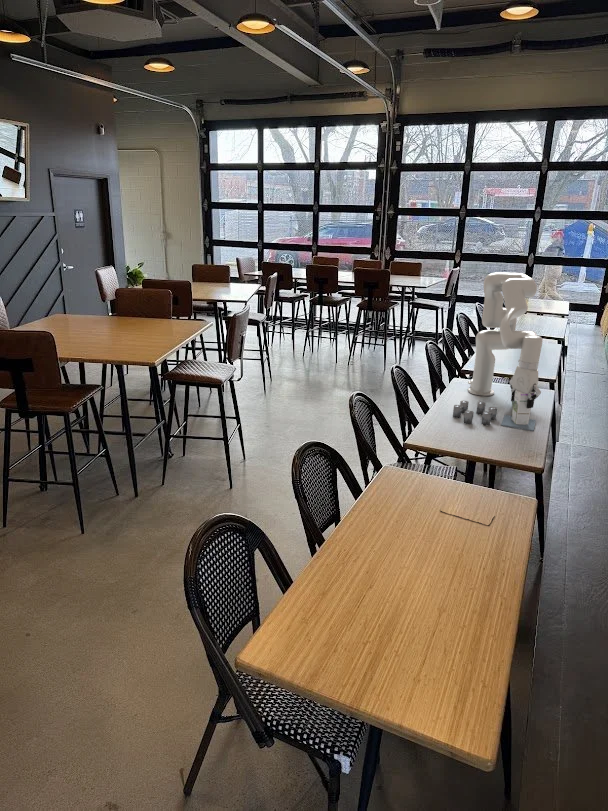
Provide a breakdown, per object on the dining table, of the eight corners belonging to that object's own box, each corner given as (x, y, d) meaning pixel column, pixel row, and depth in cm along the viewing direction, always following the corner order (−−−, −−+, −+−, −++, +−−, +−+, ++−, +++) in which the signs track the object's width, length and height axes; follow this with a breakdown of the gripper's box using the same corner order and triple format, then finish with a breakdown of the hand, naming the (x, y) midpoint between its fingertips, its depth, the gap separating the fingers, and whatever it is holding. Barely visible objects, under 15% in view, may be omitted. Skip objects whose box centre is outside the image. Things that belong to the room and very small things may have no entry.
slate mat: (501, 425, 231) (501, 424, 231) (504, 416, 242) (504, 414, 242) (533, 431, 226) (533, 430, 226) (535, 421, 237) (535, 419, 237)
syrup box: (528, 424, 231) (534, 392, 226) (514, 424, 231) (520, 392, 226) (523, 420, 237) (529, 388, 232) (510, 419, 237) (515, 388, 232)
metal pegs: (445, 413, 244) (446, 402, 243) (475, 408, 251) (476, 398, 249) (472, 427, 228) (474, 416, 227) (503, 422, 235) (505, 412, 233)
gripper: (506, 360, 231) (500, 398, 237) (537, 371, 216) (530, 412, 222) (520, 359, 234) (513, 397, 240) (551, 369, 219) (544, 410, 225)
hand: (521, 404), depth 231 cm, fingers open, 8 cm apart
